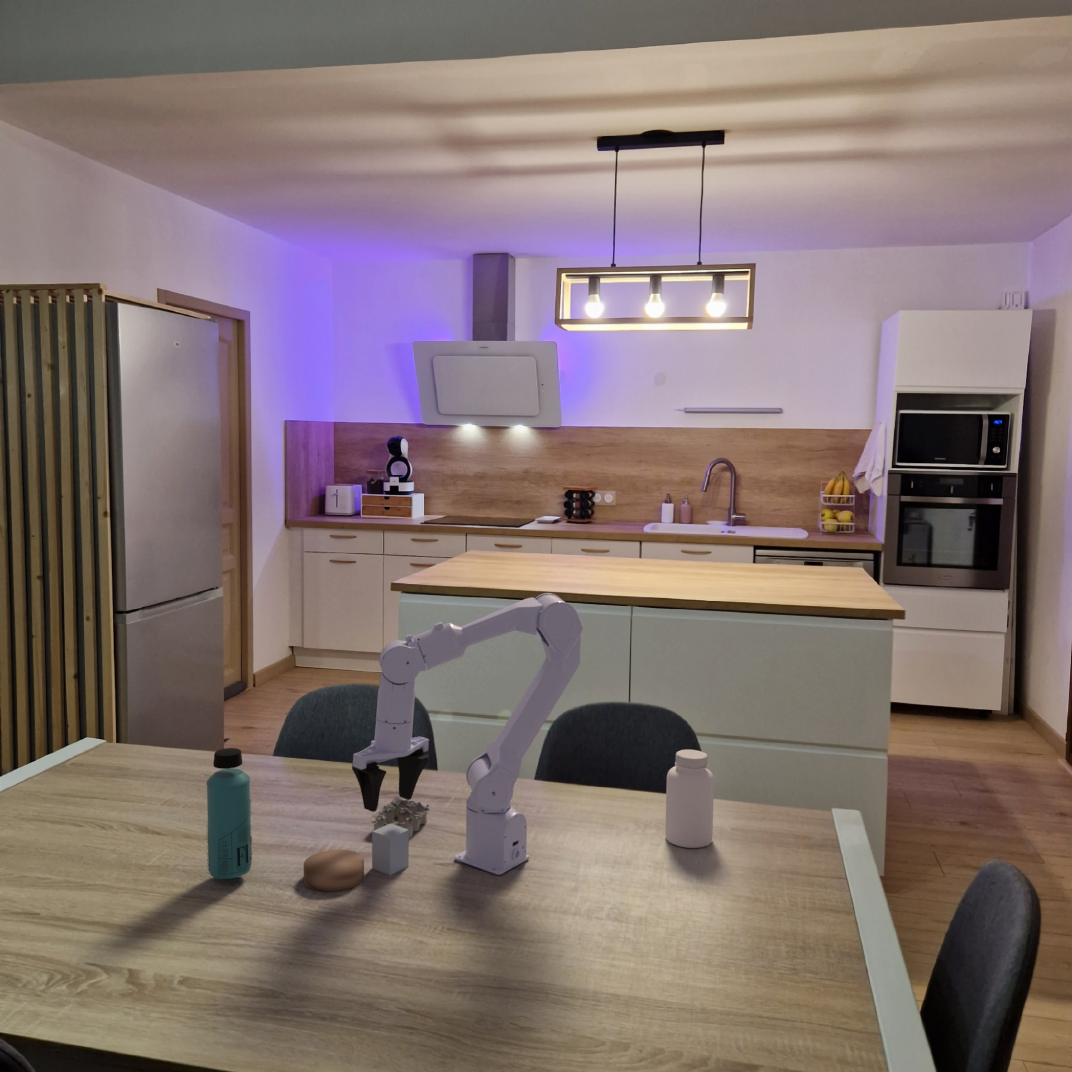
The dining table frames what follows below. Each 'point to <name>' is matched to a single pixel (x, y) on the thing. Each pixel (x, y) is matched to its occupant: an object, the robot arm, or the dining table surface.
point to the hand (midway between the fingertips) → (388, 803)
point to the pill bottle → (689, 801)
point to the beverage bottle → (229, 817)
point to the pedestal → (333, 870)
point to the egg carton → (402, 815)
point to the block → (390, 849)
